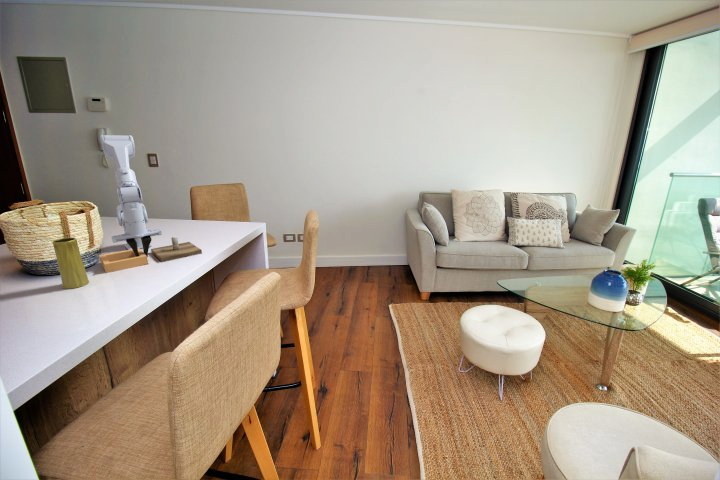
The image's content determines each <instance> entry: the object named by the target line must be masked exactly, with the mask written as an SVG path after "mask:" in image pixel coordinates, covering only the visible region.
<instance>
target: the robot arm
mask: <svg viewBox="0 0 720 480" xmlns="http://www.w3.org/2000/svg"><path fill="white" fill-rule="evenodd" d="M99 137H100V143H101V148H102V151H103V154H104V156H105V158H107V159H110V160H112V161H113V164H114V165H115V169H116V170H115V172H114V175H115V180H116V185H117V189H116V193H117V196H118V197H117V198H118V202H119V204H118V205H117V206H116V208H115V211H116V217H117V222H118V226H119V227H122V228H123V231H124V233H122V234H117V235H112V236H111V240H112V242H113V244H115V243H118V242H126V243H124V244H123V245H124V247H125V248H126V249H127V250H131V249H132V250H133V251H134V253H135V255H136V257H138V256H139V253H138V248H139V249H140V250H141V249H142V250H143V251H142V252H143V253H144V254H145V255H146V256H147V258H148V257H149V248H151V247H152V244H151V243H152V237H156V236H162V235H163V234H162V229H161V228H157V229H149V230H148V229H147V227H146V226H147V224H148V223H149V218H148V213H147V212H148V211H147V209H146V206H145V205H144V203H143V195H142V191H141V188H140V186H139V183H138V181H137V177H136V172H135V171H134V170H133V169H131V168H130V167H131V166H130V160H131V159H133V158H135V156H136V146H135V141H134V137H133V136H132V135H131V134H129V135H123V134H122V135H119V134H118V135H116V134H114V135H113V134H101V135H100V136H99Z"/></svg>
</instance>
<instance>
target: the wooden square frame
mask: <svg viewBox="0 0 720 480" xmlns="http://www.w3.org/2000/svg"><path fill="white" fill-rule="evenodd" d="M138 253H139V256H138V257H136V255H135V253H134V251H133V250H132V249H131V250H128V249H127V250H121V251H115V252H111V253H105V254H99V255H98V257H99V261H100V264H101V266H102V267H103V269H104V271H105V273H106V274H108V273H112V272H117V271H121V270H126V269H132V268H136V267H141V266H145V265H149V259H148V257H147V256H146V255H145V254H144V252H143V251H142V250H141V248H140V249H139V248H138Z"/></svg>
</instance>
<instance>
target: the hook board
mask: <svg viewBox="0 0 720 480" xmlns="http://www.w3.org/2000/svg"><path fill="white" fill-rule="evenodd" d="M170 239H171V245H165V246H159V247H154V248H151V249H150V252H151V254H153V255H154V257H155V258H157V259H158V260H159V261H160V262H161V263H163V262H169V261H173V260H178V259H182V258H187V257H191V256H195V255H196V256H197V255H200V254H201V255H202V254H203V252H202V249H201V248H200V247H198V246H196V245H195V244H194V243H192V242H190V241H186V242H181V243H179V239H178V237H174V236H172V237H171V238H170Z"/></svg>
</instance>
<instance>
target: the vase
mask: <svg viewBox="0 0 720 480" xmlns="http://www.w3.org/2000/svg"><path fill="white" fill-rule="evenodd" d="M52 245H53V250H54V255H55V257H56V261H57V267H58V270H59V275H60V278H61V280H60V281H61V284H62V288H64V289H67V290H71V289H78V288H81V287H84V286H86V285H88V284H89V283H90V279H89V278H88V275H87V271H86V267H85V264H84V261H83V258H82V255H81V252H80V249H79V248H80V247H79V243H78V240H77V238H76V237H63V238H57V239H54V240H52Z"/></svg>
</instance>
